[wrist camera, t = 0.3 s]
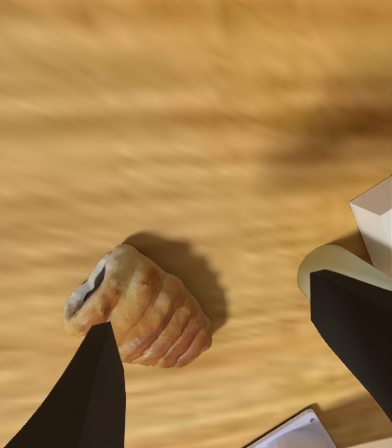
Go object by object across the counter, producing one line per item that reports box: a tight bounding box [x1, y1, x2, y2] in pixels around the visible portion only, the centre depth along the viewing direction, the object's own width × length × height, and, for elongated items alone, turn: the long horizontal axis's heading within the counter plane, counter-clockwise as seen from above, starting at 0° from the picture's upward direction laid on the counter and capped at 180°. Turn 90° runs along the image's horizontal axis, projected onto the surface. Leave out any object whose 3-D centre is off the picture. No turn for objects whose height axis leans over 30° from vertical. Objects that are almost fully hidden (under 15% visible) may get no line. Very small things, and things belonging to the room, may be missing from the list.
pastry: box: [63, 244, 212, 368], centre depth 21 cm, size 9×7×4 cm
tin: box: [297, 244, 392, 300], centre depth 21 cm, size 5×5×7 cm
